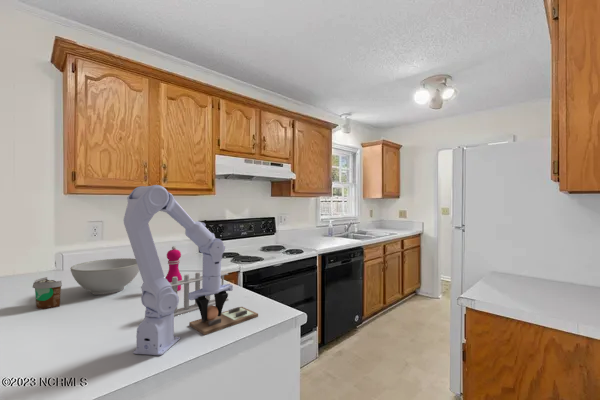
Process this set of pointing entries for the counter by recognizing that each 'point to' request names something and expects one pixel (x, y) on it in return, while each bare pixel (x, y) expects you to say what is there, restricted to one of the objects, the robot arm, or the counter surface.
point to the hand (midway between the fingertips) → (211, 317)
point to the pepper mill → (174, 265)
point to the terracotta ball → (212, 312)
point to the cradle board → (223, 320)
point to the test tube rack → (186, 291)
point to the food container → (47, 293)
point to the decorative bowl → (105, 274)
